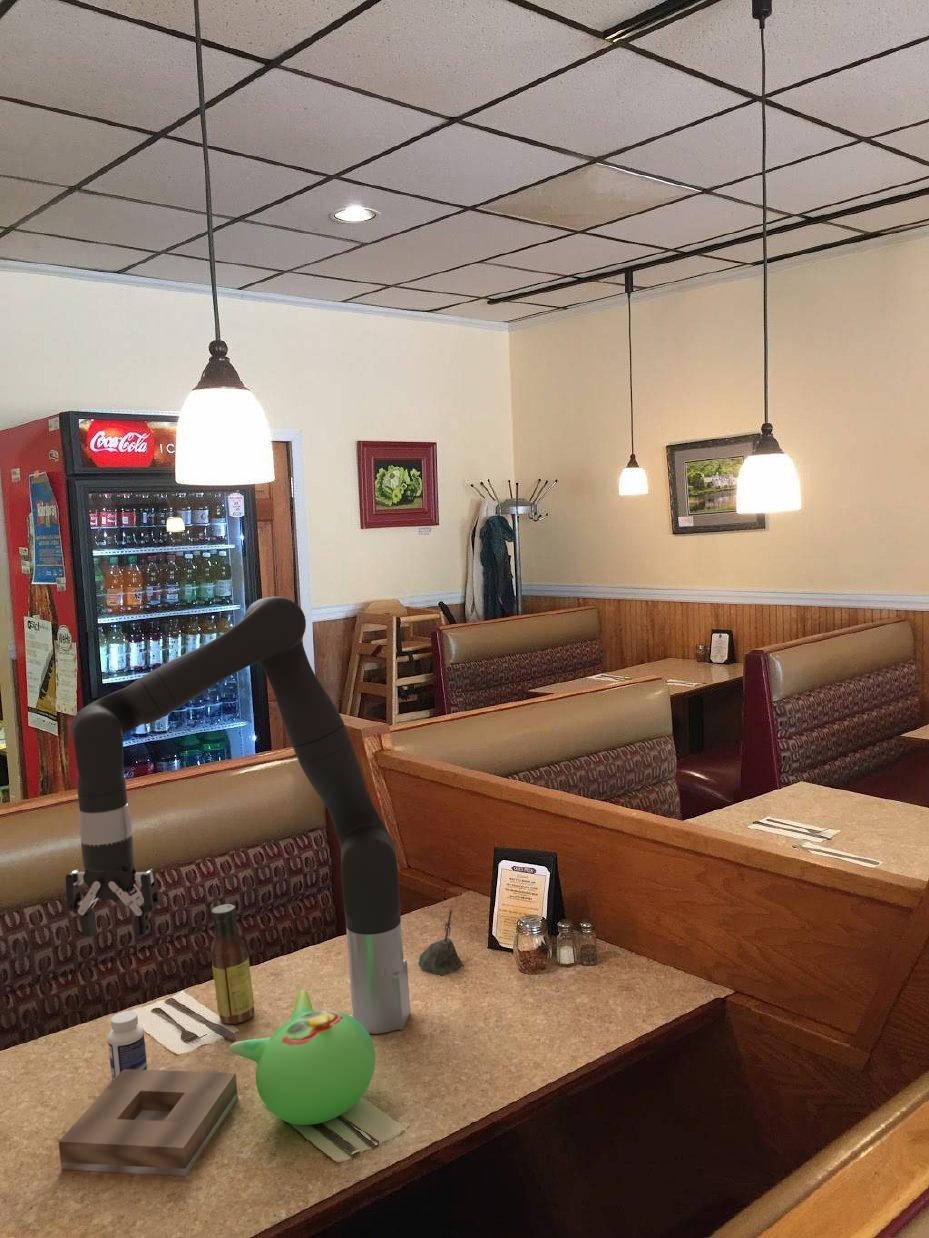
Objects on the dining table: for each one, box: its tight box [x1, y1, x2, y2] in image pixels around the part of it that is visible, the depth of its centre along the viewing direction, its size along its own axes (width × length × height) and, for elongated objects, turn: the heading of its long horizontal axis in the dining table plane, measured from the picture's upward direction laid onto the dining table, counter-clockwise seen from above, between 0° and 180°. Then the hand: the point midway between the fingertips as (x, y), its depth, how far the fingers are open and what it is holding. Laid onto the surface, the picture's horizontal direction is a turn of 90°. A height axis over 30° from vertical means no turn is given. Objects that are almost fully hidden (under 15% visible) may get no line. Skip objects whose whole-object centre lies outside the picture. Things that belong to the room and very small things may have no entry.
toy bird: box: [229, 989, 376, 1126], centre depth 148 cm, size 18×17×15 cm
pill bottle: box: [107, 1010, 148, 1082], centre depth 161 cm, size 5×5×10 cm
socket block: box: [58, 1069, 239, 1177], centre depth 145 cm, size 18×18×4 cm
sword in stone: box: [418, 909, 465, 977], centre depth 194 cm, size 10×8×12 cm
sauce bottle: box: [210, 903, 255, 1025], centre depth 177 cm, size 7×6×20 cm
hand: (116, 935), depth 159 cm, fingers open, 8 cm apart
